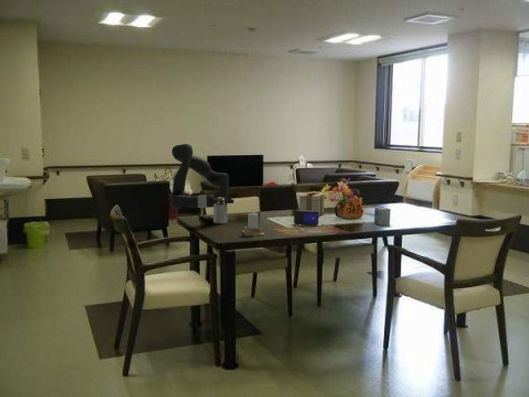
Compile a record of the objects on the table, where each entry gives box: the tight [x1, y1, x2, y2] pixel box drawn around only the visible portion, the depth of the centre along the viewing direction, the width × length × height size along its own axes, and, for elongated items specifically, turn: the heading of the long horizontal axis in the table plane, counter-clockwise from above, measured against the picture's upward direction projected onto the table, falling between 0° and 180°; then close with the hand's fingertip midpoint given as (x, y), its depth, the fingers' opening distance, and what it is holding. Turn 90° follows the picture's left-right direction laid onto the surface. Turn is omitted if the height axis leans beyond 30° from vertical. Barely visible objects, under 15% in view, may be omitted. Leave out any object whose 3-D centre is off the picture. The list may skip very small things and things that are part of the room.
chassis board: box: [241, 225, 265, 237], centre depth 318 cm, size 13×11×4 cm
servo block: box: [247, 212, 259, 229], centre depth 318 cm, size 5×5×12 cm
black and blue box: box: [293, 209, 320, 226], centre depth 350 cm, size 16×5×9 cm, turn 81°
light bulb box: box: [373, 206, 391, 226], centre depth 358 cm, size 11×7×11 cm, turn 14°
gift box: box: [298, 190, 326, 217], centre depth 392 cm, size 17×18×17 cm
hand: (232, 200), depth 315 cm, fingers open, 8 cm apart
